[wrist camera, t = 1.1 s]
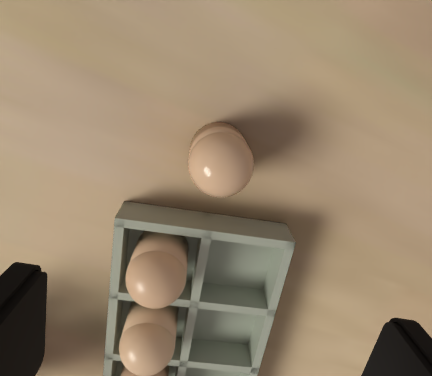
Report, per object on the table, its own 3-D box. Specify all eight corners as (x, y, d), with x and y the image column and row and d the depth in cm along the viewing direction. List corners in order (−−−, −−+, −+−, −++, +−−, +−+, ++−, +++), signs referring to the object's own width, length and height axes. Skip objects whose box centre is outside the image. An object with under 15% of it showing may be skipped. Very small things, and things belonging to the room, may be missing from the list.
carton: (124, 201, 27) (100, 242, 20) (285, 223, 28) (310, 269, 22) (109, 380, 34) (87, 454, 27) (240, 392, 35) (248, 465, 29)
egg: (194, 117, 25) (192, 133, 19) (251, 127, 25) (266, 145, 19) (186, 172, 26) (182, 202, 20) (240, 180, 27) (250, 212, 21)
